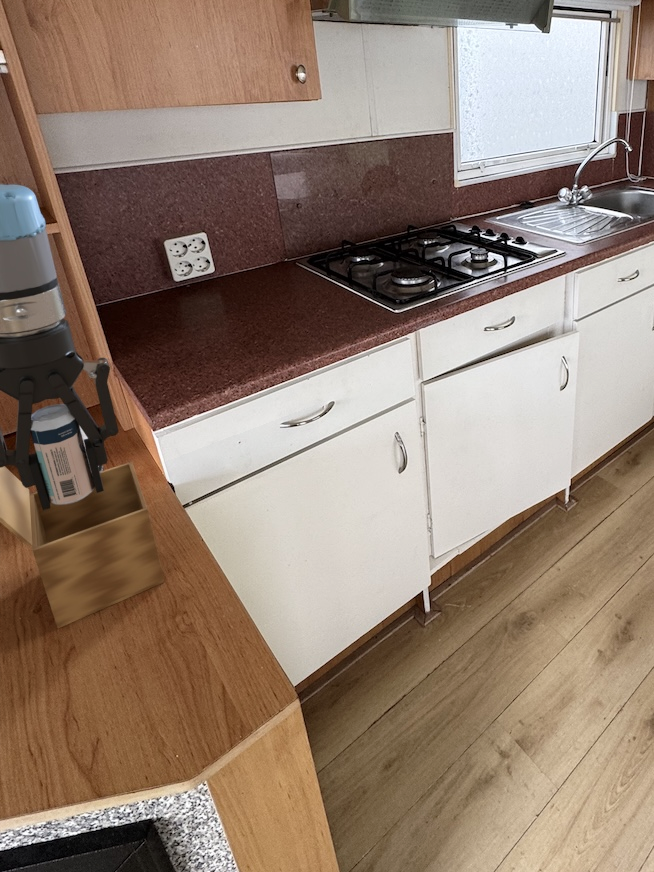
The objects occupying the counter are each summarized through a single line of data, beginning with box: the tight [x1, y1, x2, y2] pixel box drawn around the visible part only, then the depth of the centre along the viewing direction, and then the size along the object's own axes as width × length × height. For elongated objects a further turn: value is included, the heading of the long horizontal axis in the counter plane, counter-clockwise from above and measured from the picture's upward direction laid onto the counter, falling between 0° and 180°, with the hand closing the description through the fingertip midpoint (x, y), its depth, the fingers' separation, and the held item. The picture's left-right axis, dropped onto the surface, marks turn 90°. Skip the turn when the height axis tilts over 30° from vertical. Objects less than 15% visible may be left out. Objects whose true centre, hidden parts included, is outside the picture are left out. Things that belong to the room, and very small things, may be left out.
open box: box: [29, 461, 165, 629], centre depth 86 cm, size 13×14×14 cm
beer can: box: [30, 403, 95, 505], centre depth 71 cm, size 5×5×12 cm
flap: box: [0, 465, 32, 548], centre depth 78 cm, size 6×14×1 cm
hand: (73, 494), depth 73 cm, fingers closed on beer can, 5 cm apart
